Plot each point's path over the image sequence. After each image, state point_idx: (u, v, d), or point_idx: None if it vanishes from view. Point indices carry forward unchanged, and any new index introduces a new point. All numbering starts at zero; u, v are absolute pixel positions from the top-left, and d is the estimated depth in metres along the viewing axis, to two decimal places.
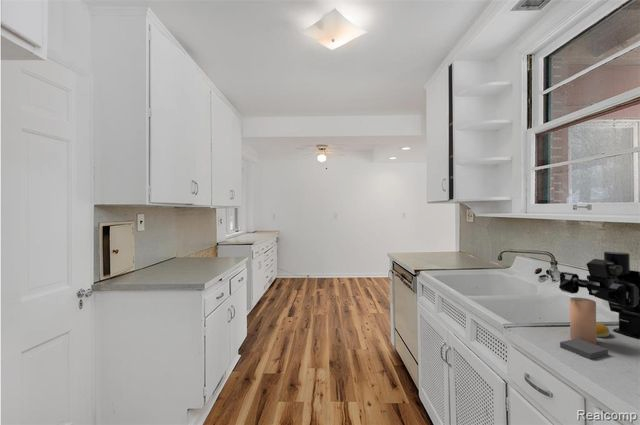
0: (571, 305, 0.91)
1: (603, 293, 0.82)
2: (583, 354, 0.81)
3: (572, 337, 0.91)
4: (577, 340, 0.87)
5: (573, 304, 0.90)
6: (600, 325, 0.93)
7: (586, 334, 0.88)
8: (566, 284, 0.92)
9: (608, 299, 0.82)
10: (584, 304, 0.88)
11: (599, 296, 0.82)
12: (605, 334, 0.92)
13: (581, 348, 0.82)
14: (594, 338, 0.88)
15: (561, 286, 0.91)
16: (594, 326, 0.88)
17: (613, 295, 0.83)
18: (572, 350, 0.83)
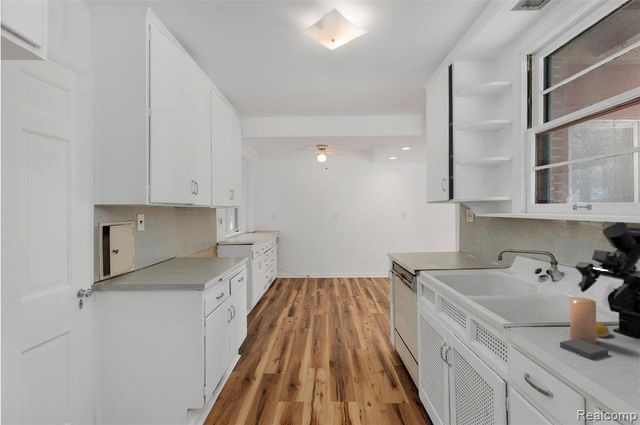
0: (571, 305, 0.91)
1: (621, 293, 0.86)
2: (583, 354, 0.81)
3: (572, 337, 0.91)
4: (577, 340, 0.87)
5: (573, 303, 0.90)
6: (600, 325, 0.93)
7: (586, 334, 0.88)
8: (586, 283, 0.96)
9: (628, 294, 0.86)
10: (584, 304, 0.88)
11: (619, 298, 0.87)
12: (605, 334, 0.92)
13: (581, 348, 0.82)
14: (594, 338, 0.88)
15: (583, 289, 0.96)
16: (594, 326, 0.88)
17: (630, 287, 0.87)
18: (572, 350, 0.83)
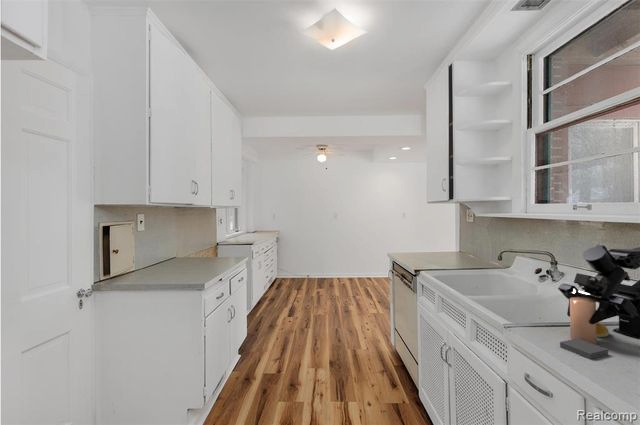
0: (571, 305, 0.91)
1: (596, 318, 0.86)
2: (583, 354, 0.81)
3: (572, 337, 0.91)
4: (577, 340, 0.87)
5: (573, 303, 0.90)
6: (599, 325, 0.93)
7: (586, 334, 0.88)
8: None
9: (604, 318, 0.86)
10: (584, 304, 0.88)
11: (594, 322, 0.87)
12: (604, 334, 0.92)
13: (581, 348, 0.82)
14: (594, 338, 0.88)
15: (569, 314, 0.93)
16: (594, 326, 0.88)
17: (606, 311, 0.87)
18: (572, 350, 0.83)
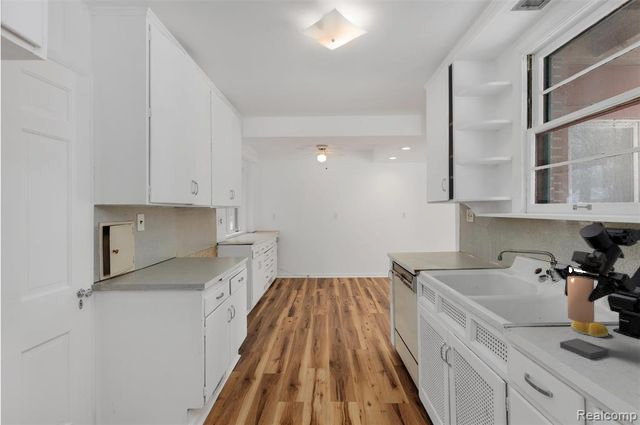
0: (569, 283, 0.88)
1: (595, 295, 0.84)
2: (583, 354, 0.81)
3: (570, 316, 0.88)
4: (577, 340, 0.87)
5: (571, 282, 0.87)
6: (599, 325, 0.93)
7: (585, 312, 0.85)
8: None
9: (602, 295, 0.84)
10: (583, 281, 0.85)
11: (593, 299, 0.84)
12: (604, 334, 0.92)
13: (581, 348, 0.82)
14: (592, 316, 0.85)
15: (566, 293, 0.90)
16: (593, 303, 0.85)
17: (604, 288, 0.84)
18: (572, 350, 0.83)
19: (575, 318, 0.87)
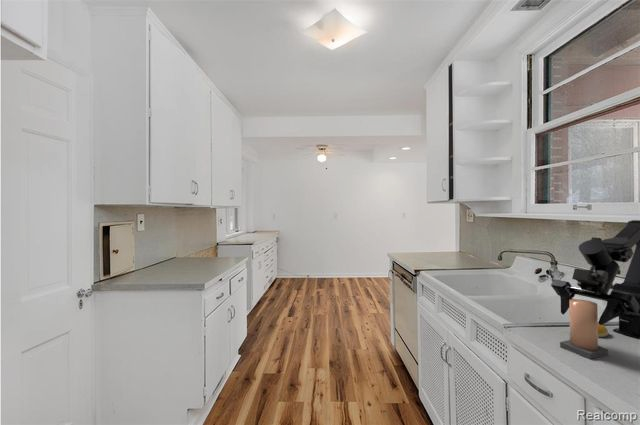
0: (572, 308, 0.84)
1: (606, 317, 0.79)
2: (583, 354, 0.81)
3: (573, 343, 0.84)
4: None
5: (575, 306, 0.83)
6: (599, 325, 0.93)
7: (590, 339, 0.81)
8: (565, 304, 0.88)
9: (612, 317, 0.79)
10: (587, 307, 0.81)
11: (604, 322, 0.79)
12: (604, 334, 0.92)
13: None
14: (597, 343, 0.81)
15: (563, 312, 0.87)
16: (597, 329, 0.81)
17: (614, 310, 0.80)
18: (572, 350, 0.83)
19: (579, 345, 0.82)
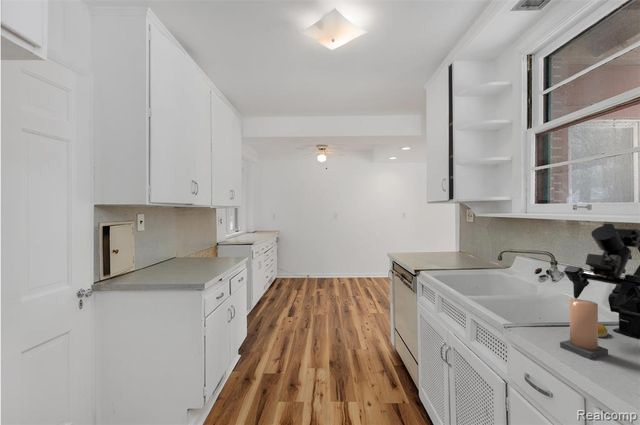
0: (572, 308, 0.84)
1: (620, 300, 0.81)
2: (583, 354, 0.81)
3: (573, 343, 0.84)
4: None
5: (575, 306, 0.83)
6: (598, 325, 0.93)
7: (590, 339, 0.81)
8: (578, 289, 0.91)
9: (626, 300, 0.82)
10: (588, 307, 0.81)
11: (618, 305, 0.81)
12: (603, 334, 0.92)
13: None
14: (597, 343, 0.81)
15: (576, 296, 0.90)
16: (597, 329, 0.81)
17: (627, 292, 0.82)
18: (572, 350, 0.83)
19: (579, 345, 0.82)
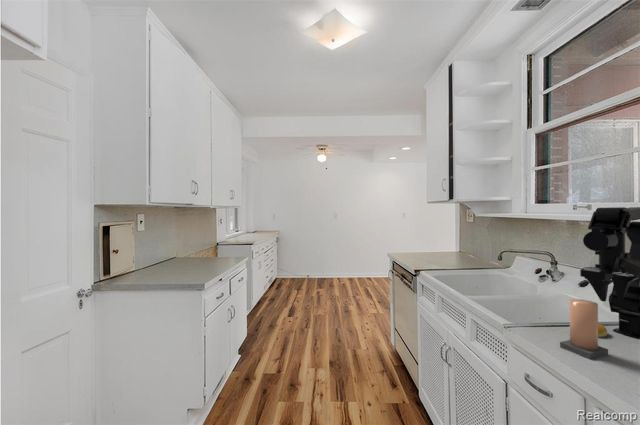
0: (572, 308, 0.84)
1: None
2: (583, 354, 0.81)
3: (573, 342, 0.84)
4: None
5: (575, 306, 0.83)
6: (598, 325, 0.93)
7: (590, 339, 0.81)
8: None
9: None
10: (588, 307, 0.81)
11: None
12: (603, 334, 0.92)
13: None
14: (597, 343, 0.81)
15: None
16: (597, 329, 0.81)
17: None
18: (572, 350, 0.83)
19: (579, 345, 0.82)
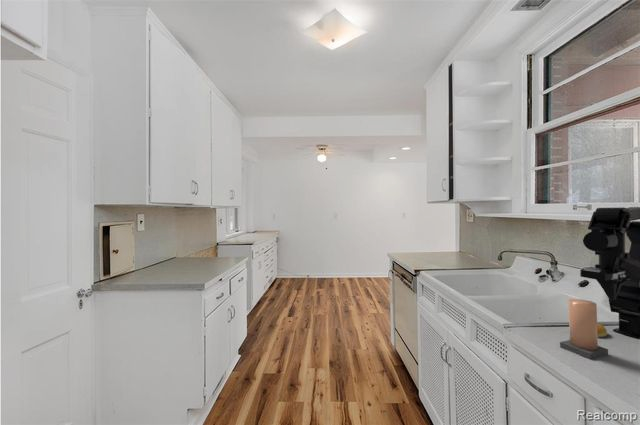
0: (571, 308, 0.84)
1: None
2: (583, 354, 0.81)
3: (573, 343, 0.84)
4: None
5: (574, 306, 0.83)
6: (598, 325, 0.93)
7: (589, 339, 0.81)
8: None
9: None
10: (586, 307, 0.81)
11: None
12: (603, 334, 0.92)
13: None
14: (596, 343, 0.81)
15: None
16: (596, 329, 0.81)
17: None
18: (572, 350, 0.83)
19: (579, 345, 0.82)
